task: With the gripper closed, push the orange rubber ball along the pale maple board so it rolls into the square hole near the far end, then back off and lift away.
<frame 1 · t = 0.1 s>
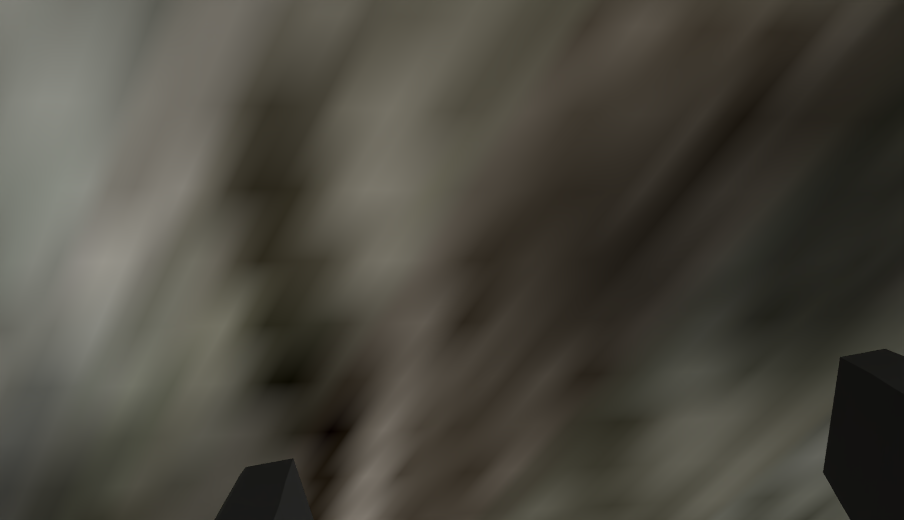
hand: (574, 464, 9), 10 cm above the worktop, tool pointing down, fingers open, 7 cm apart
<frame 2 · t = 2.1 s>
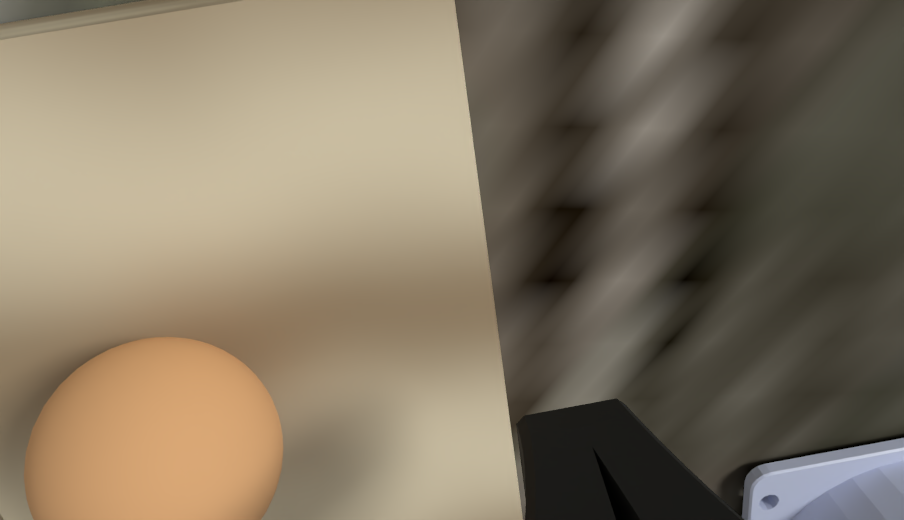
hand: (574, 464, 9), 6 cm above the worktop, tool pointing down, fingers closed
ball: (161, 455, 11), point 4 cm above the worktop, touching board
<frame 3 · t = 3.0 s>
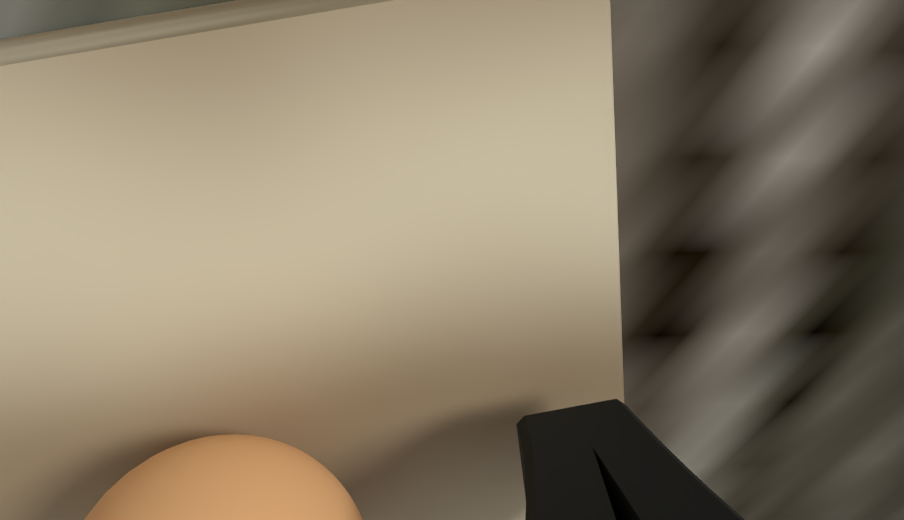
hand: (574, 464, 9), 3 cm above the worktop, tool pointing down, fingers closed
board: (5, 421, 12), on the worktop
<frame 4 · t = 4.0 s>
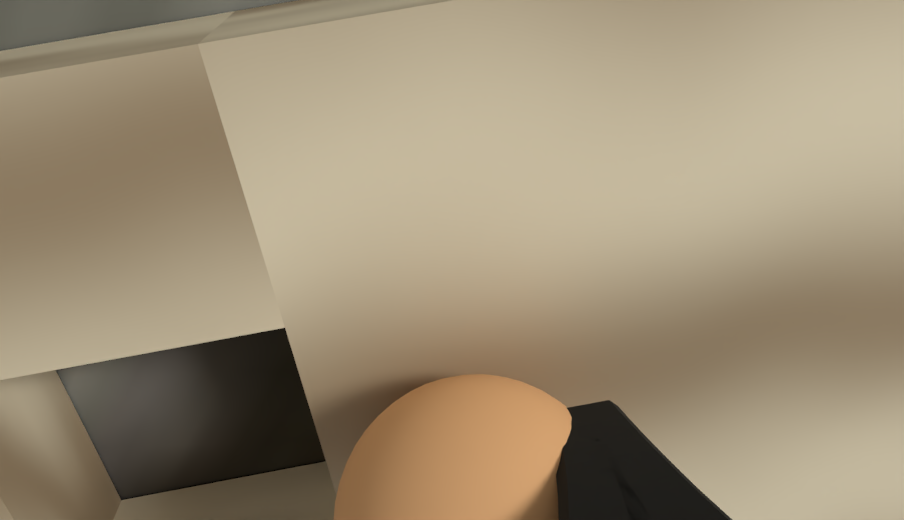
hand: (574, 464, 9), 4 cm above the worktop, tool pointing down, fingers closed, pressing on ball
board: (314, 362, 13), on the worktop
ball: (477, 518, 9), point 4 cm above the worktop, tilted 70°, touching board, gripper
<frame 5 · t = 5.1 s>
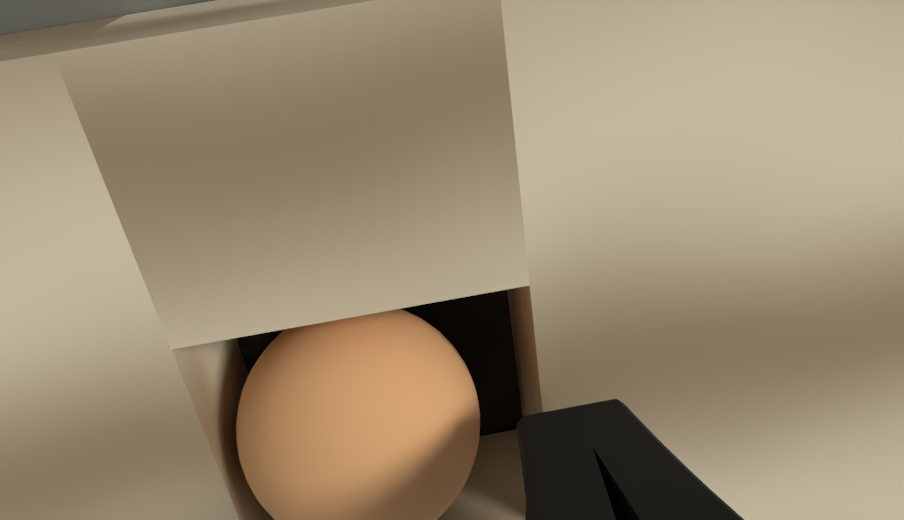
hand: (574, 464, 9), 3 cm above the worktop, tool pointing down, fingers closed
board: (494, 330, 12), on the worktop
ball: (360, 421, 11), point 2 cm above the worktop, tilted 32°
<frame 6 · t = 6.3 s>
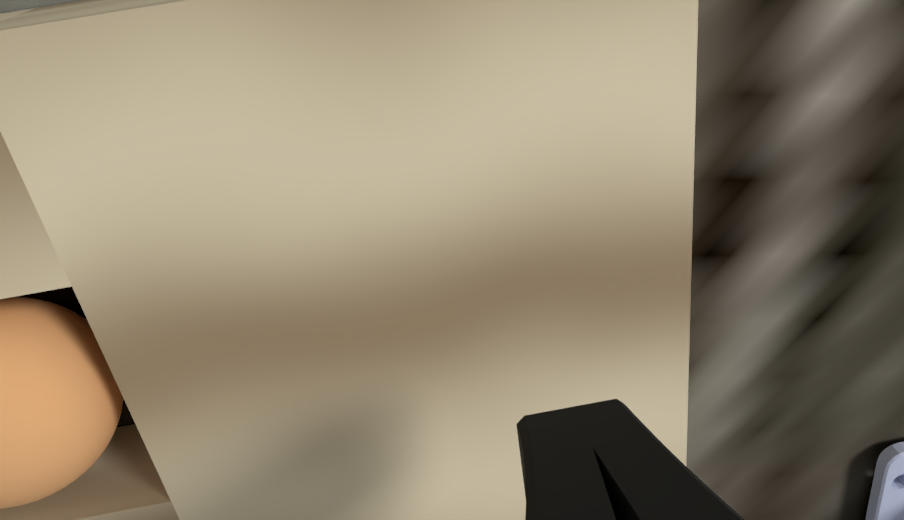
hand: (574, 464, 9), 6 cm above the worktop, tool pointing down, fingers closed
board: (147, 325, 14), on the worktop
ball: (9, 400, 12), point 2 cm above the worktop, tilted 46°
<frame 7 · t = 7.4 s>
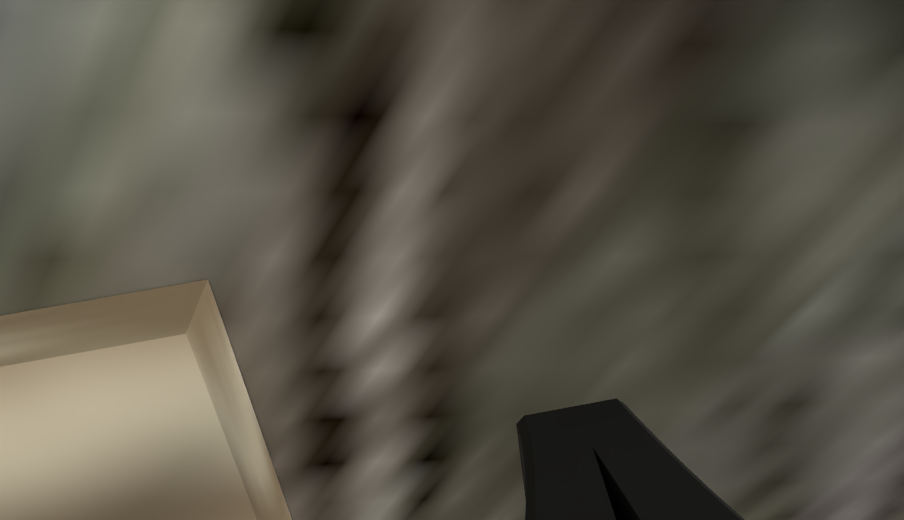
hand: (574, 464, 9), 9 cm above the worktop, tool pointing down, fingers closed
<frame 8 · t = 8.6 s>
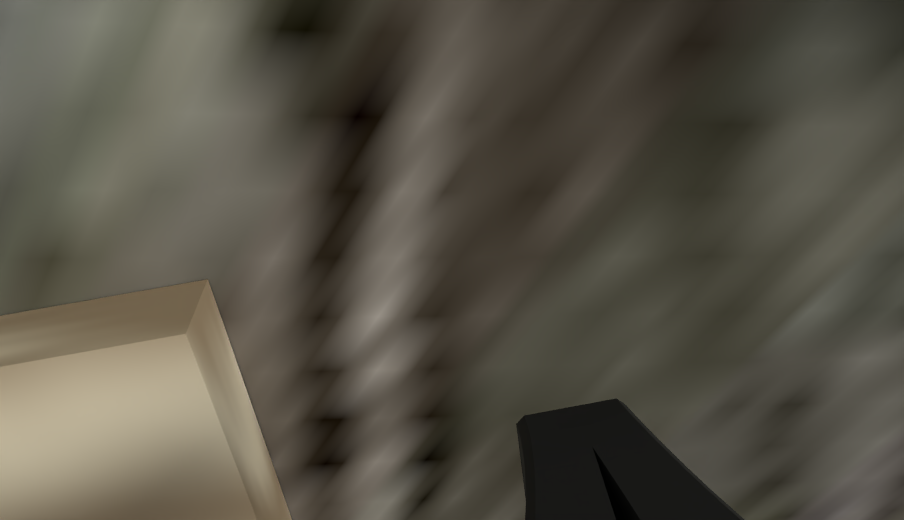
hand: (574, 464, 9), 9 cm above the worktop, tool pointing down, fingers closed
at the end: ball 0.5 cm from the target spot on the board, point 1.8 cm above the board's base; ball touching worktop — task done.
